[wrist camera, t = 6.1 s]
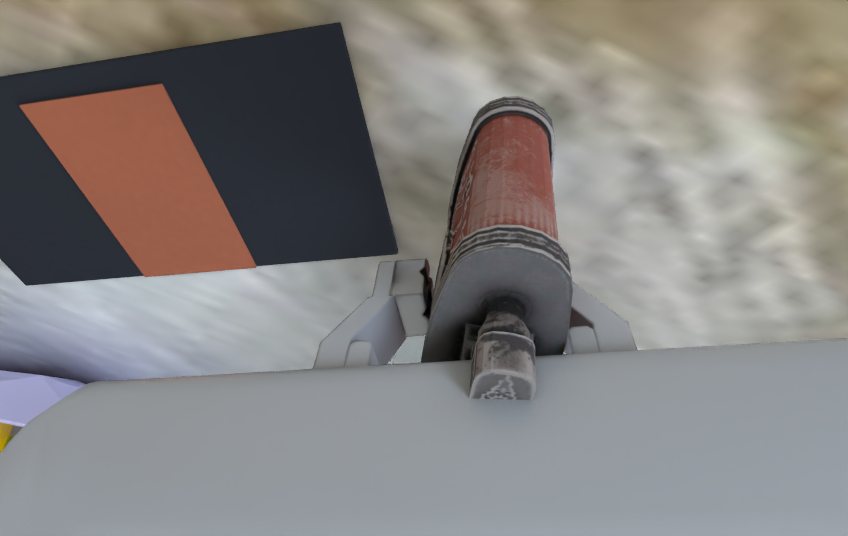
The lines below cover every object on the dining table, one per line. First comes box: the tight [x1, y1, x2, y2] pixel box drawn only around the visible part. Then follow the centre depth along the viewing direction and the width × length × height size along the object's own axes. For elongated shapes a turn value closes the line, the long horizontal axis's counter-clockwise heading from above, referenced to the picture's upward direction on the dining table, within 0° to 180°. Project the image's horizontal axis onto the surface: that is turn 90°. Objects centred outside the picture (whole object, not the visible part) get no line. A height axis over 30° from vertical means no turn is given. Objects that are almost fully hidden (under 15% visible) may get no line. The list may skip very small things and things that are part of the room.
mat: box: [0, 22, 398, 285], centre depth 21 cm, size 20×10×1 cm, turn 99°
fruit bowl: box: [0, 370, 86, 453], centre depth 32 cm, size 28×27×11 cm
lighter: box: [421, 96, 573, 400], centre depth 14 cm, size 8×3×10 cm, turn 176°
